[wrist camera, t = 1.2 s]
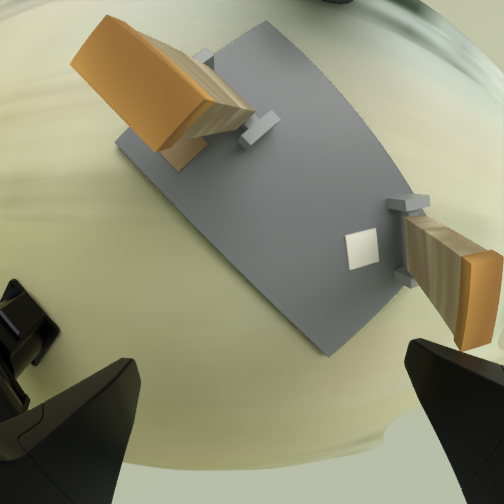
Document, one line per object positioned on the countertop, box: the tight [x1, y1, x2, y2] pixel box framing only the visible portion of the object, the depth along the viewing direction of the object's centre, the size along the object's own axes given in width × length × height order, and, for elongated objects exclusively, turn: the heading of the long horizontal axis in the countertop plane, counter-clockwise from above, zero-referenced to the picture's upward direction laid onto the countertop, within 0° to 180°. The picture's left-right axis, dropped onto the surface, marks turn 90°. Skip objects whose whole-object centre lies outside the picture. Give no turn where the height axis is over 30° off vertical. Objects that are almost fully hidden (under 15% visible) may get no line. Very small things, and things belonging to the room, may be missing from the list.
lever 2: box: [404, 215, 504, 352], centre depth 13 cm, size 2×4×10 cm, turn 12°
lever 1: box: [70, 15, 256, 153], centre depth 10 cm, size 2×4×10 cm, turn 43°
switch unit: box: [115, 21, 430, 357], centre depth 18 cm, size 14×23×3 cm, turn 43°
